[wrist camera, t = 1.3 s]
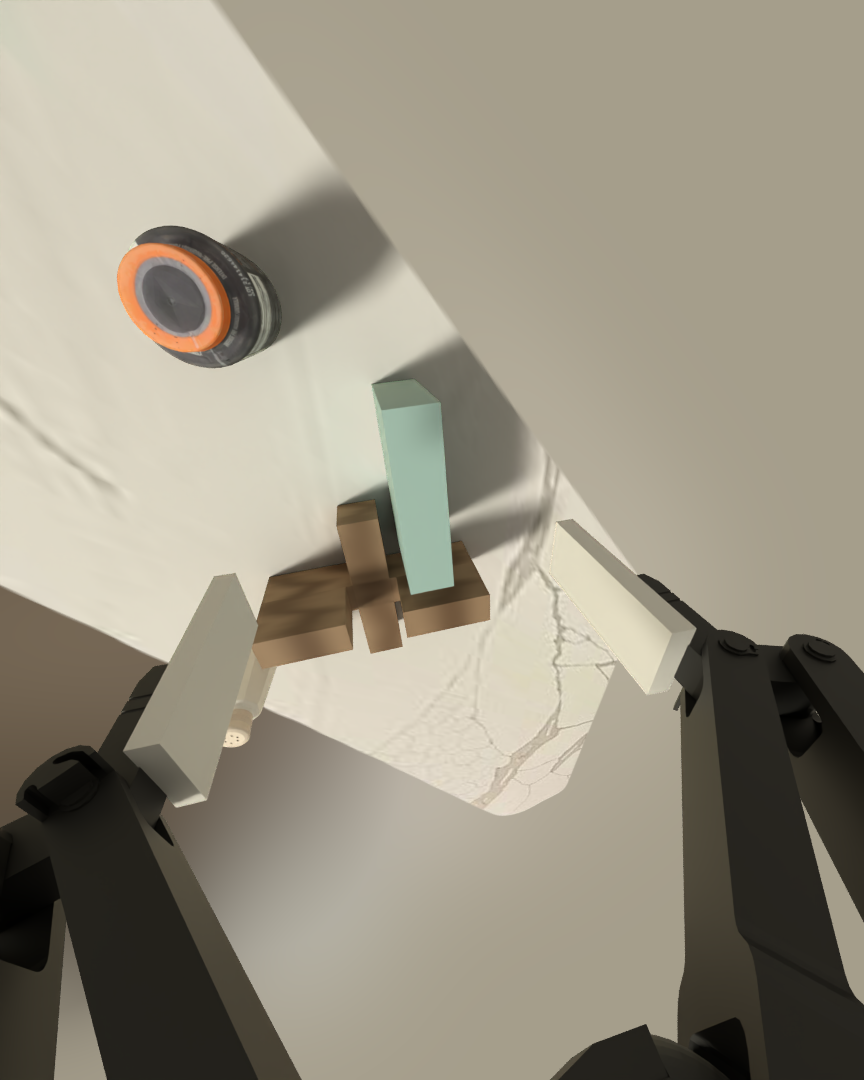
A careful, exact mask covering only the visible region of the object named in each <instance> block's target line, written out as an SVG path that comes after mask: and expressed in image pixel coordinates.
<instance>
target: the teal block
mask: <svg viewBox="0 0 864 1080" xmlns="http://www.w3.org/2000/svg"><path fill="white" fill-rule="evenodd" d="M372 390H373V396H374V402H375V408H376V414H377V420H378V426H379V432H380V438H381V444H382V450H383V456H384V462H385V468H386V474H387V480H388V486H389V492H390V498H391V504H392V510H393V516H394V522H395V528H396V533H397V538H398V542H399V546H400V551H401V555H402V559H403V563H404V568H405V572H406V576H407V581H408V585H409V589H410V593H411V595H413V594H418V593H422V592H427V591H432V590H437V589H442V588H447V587H452V586H454V577H453V564H452V550H451V536H450V523H449V509H448V495H447V482H446V468H445V455H444V441H443V427H442V414H441V402H440V401H439V400H438V399H436V398H435V397H434V396H433V395H432V394H431V393H430V392H429V391H427V390H426V389H425V388H424V387H423V386H422V385H421V384H420V383H418V382H417V381H416V380H415V379H408V380H401V381H393V382H385V383H377V384H372Z"/></svg>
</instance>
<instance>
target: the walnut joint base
mask: <svg viewBox="0 0 864 1080" xmlns="http://www.w3.org/2000/svg"><path fill="white" fill-rule="evenodd" d="M337 530H338V534H339V537H340V541H341V545H342V549H343V552H344V556H345V560H346V563H343V564H337V565H332V566H327V567H321V568H316V569H311V570H305V571H300V572H295V573H289V574H284V575H279V576H273V577H269V580H268V584H267V587H266V591H265V594H264V597H263V601H262V604H261V608H260V611H259V614H258V618H257V624H258V628H257V631H256V635H255V638H254V642H253V645H252V648H251V649H252V651H253V652H254V654H255V656H256V658H257V660H258V662H259V664H260V666H261V668H262V669H266V668H270V667H275V666H280V665H284V664H289V663H293V662H298V661H303V660H307V659H312V658H316V657H321V656H326V655H330V654H335V653H339V652H344V651H349V650H353V628H352V611H353V610H357V609H359V612H360V616H361V620H362V623H363V627H364V631H365V634H366V638H367V642H368V646H369V649H370V653H376V652H380V651H385V650H390V649H394V648H399V647H403V646H402V640H401V634H400V629H399V623H398V618H397V612H396V607H395V602H397V601H401V607H402V612H403V617H404V622H405V627H406V632H407V638H408V637H413V636H418V635H422V634H427V633H431V632H436V631H441V630H445V629H450V628H454V627H459V626H464V625H468V624H473V623H477V622H482V621H487V620H490V594H489V592H488V590H487V588H486V586H485V585H484V583H483V581H482V579H481V577H480V575H479V573H478V571H477V569H476V567H475V565H474V563H473V562H472V560H471V558H470V556H469V554H468V552H467V550H466V548H465V546H464V544H463V542H462V541H460V542H454V543H451V550H452V564H453V577H454V586H452V587H447V588H442V589H437V590H432V591H427V592H422V593H418V594H413V595H411V593H410V589H409V585H408V581H407V576H406V572H405V568H404V563H403V559H402V555H401V553H396V554H391V555H385V550H384V545H383V540H382V535H381V530H380V524H379V519H378V514H377V509H376V504H375V499H374V500H368V501H362V502H356V503H350V504H344V505H338V506H337Z"/></svg>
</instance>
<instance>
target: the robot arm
mask: <svg viewBox="0 0 864 1080" xmlns="http://www.w3.org/2000/svg"><path fill="white" fill-rule="evenodd" d="M549 573H550V575H551V576H552V577H553V578H554V580H555V581H556V582H557V583H558V585H559V586H560V587H561V588H562V590H563V591H564V592H565V593H566V595H567V596H568V597H569V598H570V600H571V601H572V602H573V603H574V605H575V606H576V607H577V608H578V610H579V611H580V612H581V613H582V615H583V616H584V617H585V618H586V620H587V621H588V622H589V623H590V625H591V626H592V627H593V628H594V630H595V631H596V632H597V633H598V635H599V636H600V637H601V638H602V640H603V641H604V642H605V643H606V645H607V646H608V647H609V648H610V650H611V651H612V652H613V653H614V655H615V656H616V657H617V658H618V660H619V661H620V662H621V663H622V665H623V666H624V667H625V668H626V669H627V671H628V672H629V673H630V675H631V676H632V677H633V678H634V680H635V681H636V682H637V683H638V685H639V686H640V687H641V688H642V690H643V691H644V692H645V693H646V695H652V694H656V693H660V692H664V691H668V690H669V689H670V687H671V684H672V682H673V680H674V678H675V679H676V680H677V681H678V682H679V683H680V684H681V685H682V686H683V688H682V690H681V692H680V694H679V696H678V698H677V700H676V702H675V705H674V708H673V709H674V710H676V711H677V710H678V708H679V706H680V707H681V708H680V710H681V758H682V759H681V760H682V761H681V763H682V811H683V814H682V816H683V865H684V866H683V867H684V919H685V967H684V973H683V977H682V981H681V985H680V990H679V998H678V1043H676V1042H674V1041H672V1040H669V1039H666V1038H663V1037H660V1036H656V1035H651V1034H650V1032H649V1030H648V1027H647V1025H646V1024H645V1025H642V1026H639V1027H637V1028H634V1029H632V1030H629V1031H626V1032H623V1033H621V1034H618V1035H615V1036H613V1037H610V1038H607V1039H605V1040H602V1041H599V1042H596V1043H594V1044H592V1045H591V1046H589V1047H588V1048H586V1049H584V1050H583V1051H581V1052H580V1053H578V1054H577V1055H575V1056H574V1057H572V1058H571V1059H570V1060H569V1061H568V1062H567V1063H566V1064H565V1065H564V1066H563V1067H562V1068H561V1069H560V1070H559V1071H558V1072H557V1073H556V1074H555V1075H554V1076H553V1078H551V1079H550V1080H864V1005H863V1004H862V1003H861V1002H860V1001H859V1000H858V999H857V998H856V997H855V996H854V994H853V992H852V990H851V989H850V987H849V984H848V981H847V978H846V976H845V972H844V968H843V964H842V960H841V956H840V953H839V948H838V945H837V941H836V937H835V933H834V929H833V925H832V921H831V917H830V913H829V909H828V905H827V901H826V897H825V893H824V889H823V886H822V882H821V878H820V874H819V870H818V866H817V862H816V858H815V854H814V850H813V846H812V843H811V838H810V835H809V831H808V827H807V823H806V819H805V815H804V811H803V807H802V804H801V800H802V802H803V804H804V806H805V808H806V810H807V812H808V814H809V816H810V818H811V820H812V822H813V824H814V826H815V828H816V829H817V832H818V834H819V836H820V837H821V839H822V841H823V843H824V845H825V847H826V849H827V851H828V853H829V855H830V857H831V859H832V861H833V863H834V865H835V867H836V869H837V871H838V873H839V874H840V877H841V878H842V881H843V883H844V884H845V886H846V888H847V890H848V892H849V894H850V896H851V898H852V900H853V902H854V904H855V906H856V908H857V910H858V912H859V914H860V916H861V918H862V920H863V922H864V673H863V672H862V671H861V670H860V668H859V667H858V666H857V665H856V664H855V662H854V661H853V660H852V659H851V658H850V657H849V656H848V655H847V654H846V653H845V652H844V651H843V650H842V649H841V648H839V647H837V646H835V645H834V644H832V643H830V642H828V641H826V640H823V639H821V638H818V637H814V636H810V635H805V634H804V635H803V634H802V635H801V634H796V635H793V636H791V637H789V639H788V640H787V642H786V644H785V645H784V646H768V645H756V644H755V643H754V642H753V641H752V640H750V639H748V638H746V637H745V636H743V635H740V634H738V633H735V632H732V631H726V630H717V629H716V628H714V627H713V626H712V625H711V624H710V623H708V622H707V621H706V620H705V619H703V618H702V617H701V616H700V615H699V614H698V613H696V612H695V611H694V610H693V609H692V608H690V607H689V606H688V605H687V604H686V603H684V602H683V601H680V598H678V597H677V596H676V595H675V594H674V593H671V592H670V590H669V589H667V588H666V587H665V586H664V585H663V584H662V583H660V582H659V581H657V580H655V579H653V578H651V577H649V576H647V575H645V574H640V575H635V574H634V573H633V572H632V571H631V570H630V569H629V568H628V567H626V566H625V565H624V564H623V563H622V562H621V561H620V560H618V559H617V558H616V557H615V556H614V555H613V554H612V553H611V552H609V551H608V550H607V549H606V548H605V547H604V546H603V545H601V544H600V543H599V542H598V541H597V540H596V539H595V538H593V537H592V536H591V535H590V534H589V533H588V532H587V531H586V530H584V529H583V528H582V527H581V526H580V525H579V524H578V523H576V522H575V521H574V520H573V519H571V520H564V521H558V522H556V527H555V534H554V541H553V549H552V556H551V564H550V571H549ZM257 628H258V624H257V621H256V619H255V617H254V615H253V612H252V610H251V608H250V605H249V603H248V601H247V599H246V596H245V594H244V592H243V589H242V587H241V585H240V583H239V580H238V578H237V576H236V573H233V574H227V575H221V576H215V577H214V578H213V580H212V582H211V584H210V585H209V587H208V589H207V591H206V593H205V595H204V597H203V599H202V601H201V603H200V605H199V607H198V608H197V610H196V612H195V614H194V616H193V618H192V620H191V622H190V624H189V626H188V628H187V630H186V631H185V633H184V635H183V637H182V639H181V641H180V643H179V645H178V647H177V649H176V651H175V652H174V654H173V656H172V658H171V660H170V662H169V664H166V665H160V666H155V667H153V668H152V669H151V670H150V671H149V672H148V673H147V674H146V675H145V676H144V677H143V678H142V679H141V680H140V681H139V682H138V684H137V686H136V687H135V689H134V691H133V692H132V694H131V696H130V698H129V701H127V703H126V704H125V706H124V708H123V710H122V711H121V712H122V714H121V715H119V717H118V718H117V720H116V722H115V723H114V725H113V727H112V729H111V730H110V732H109V734H108V736H107V737H106V739H105V741H104V742H103V744H102V746H101V748H100V749H99V751H98V753H97V752H96V751H95V750H94V749H93V748H91V747H90V746H82V745H79V746H76V747H72V748H69V749H66V750H64V751H62V752H60V753H58V754H56V755H54V756H53V757H51V758H50V759H48V760H47V761H46V762H45V763H43V764H42V765H40V766H39V767H38V768H37V769H36V770H35V771H34V772H33V773H32V774H31V775H30V776H29V777H28V778H27V779H26V780H25V781H24V783H23V785H22V787H21V788H20V790H19V791H18V793H17V797H16V805H17V806H18V807H19V808H21V809H23V810H24V811H25V812H27V813H28V815H26V816H24V817H21V818H19V819H17V820H15V821H13V822H11V823H9V824H7V825H5V826H3V827H1V828H0V1080H54V1069H55V1056H56V1043H57V1031H58V1018H59V1005H60V991H61V979H62V967H63V954H64V953H63V952H64V941H65V928H66V921H67V925H68V928H69V933H70V937H71V941H72V944H73V948H74V952H75V956H76V960H77V964H78V967H79V972H80V976H81V980H82V984H83V987H84V991H85V995H86V999H87V1003H88V1007H89V1011H90V1015H91V1018H92V1023H93V1027H94V1030H95V1034H96V1038H97V1042H98V1046H99V1050H100V1054H101V1058H102V1062H103V1066H104V1070H105V1073H106V1077H107V1080H301V1078H300V1076H299V1074H298V1072H297V1070H296V1068H295V1067H294V1064H293V1062H292V1061H291V1059H290V1057H289V1055H288V1053H287V1051H286V1049H285V1047H284V1045H283V1043H282V1041H281V1040H280V1038H279V1036H278V1034H277V1032H276V1030H275V1028H274V1026H273V1024H272V1022H271V1021H270V1019H269V1017H268V1015H267V1013H266V1011H265V1009H264V1007H263V1005H262V1003H261V1001H260V1000H259V998H258V996H257V994H256V992H255V990H254V988H253V986H252V984H251V982H250V980H249V978H248V977H247V975H246V973H245V971H244V969H243V967H242V965H241V963H240V961H239V959H238V957H237V956H236V954H235V952H234V950H233V948H232V946H231V944H230V942H229V940H228V938H227V936H226V934H225V933H224V931H223V929H222V927H221V925H220V923H219V921H218V919H217V917H216V915H215V913H214V912H213V910H212V908H211V906H210V904H209V902H208V900H207V898H206V896H205V894H204V892H203V891H202V889H201V887H200V885H199V883H198V881H197V879H196V877H195V875H194V873H193V871H192V869H191V868H190V866H189V864H188V862H187V860H186V858H185V856H184V854H183V852H182V851H181V849H180V847H179V845H178V843H177V841H176V839H175V837H174V835H173V833H172V831H171V829H170V827H169V826H168V824H167V822H166V820H165V819H164V818H163V816H162V815H161V814H160V813H161V810H162V808H163V805H164V802H165V800H166V797H167V798H168V799H169V800H170V801H171V802H172V803H173V805H174V806H175V807H180V806H184V805H189V804H192V803H197V802H201V801H205V800H207V798H208V795H209V791H210V788H211V784H212V781H213V778H214V774H215V771H216V768H217V764H218V761H219V757H220V753H221V751H222V747H223V744H224V740H225V737H226V734H227V730H228V727H229V723H230V720H231V716H232V713H233V710H234V706H235V703H236V699H237V696H238V693H239V689H240V686H241V682H242V679H243V676H244V672H245V669H246V665H247V662H248V659H249V655H250V652H251V648H252V645H253V642H254V638H255V635H256V631H257ZM816 711H817V713H818V714H819V716H820V717H819V716H818V714H817V713H816ZM800 798H801V799H800Z"/></svg>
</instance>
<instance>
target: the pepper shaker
mask: <svg viewBox="0 0 864 1080" xmlns="http://www.w3.org/2000/svg"><path fill="white" fill-rule="evenodd" d="M276 667H277V666H275V667H270V668H266V669H262V668H261V666H260V664H259V662H258V660H257V658H256V656H255V654H254V652H253V651H252V649H251V652H250V655H249V659H248V662H247V665H246V669H245V672H244V676H243V679H242V682H241V686H240V689H239V693H238V696H237V699H236V703H235V706H234V710H233V713H232V716H231V720H230V723H229V727H228V730H227V734H226V737H225V740H224V744H223V746H224V747H236V746H240V745H243V744H244V743H246V742H247V741H248V740H249V738H250V730H251V727H252V721H253V719H255V718H256V717H257V716H259V715H260V713H261V711H262V708H263V706H264V703H265V700H266V697H267V694H268V691H269V688H270V685H271V682H272V679H273V676H274V673H275V670H276Z"/></svg>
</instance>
